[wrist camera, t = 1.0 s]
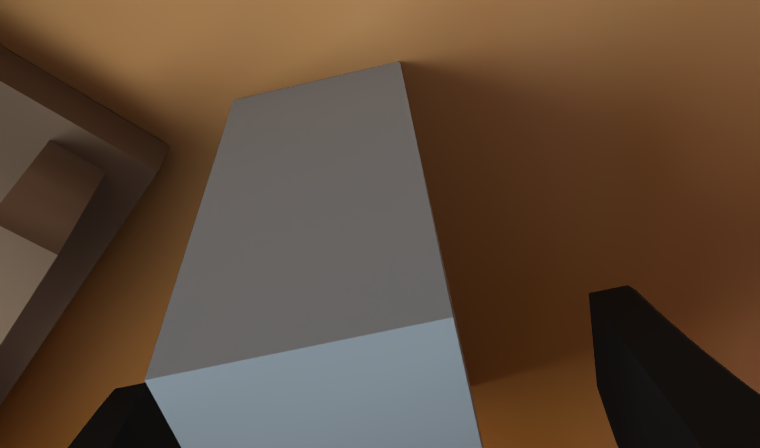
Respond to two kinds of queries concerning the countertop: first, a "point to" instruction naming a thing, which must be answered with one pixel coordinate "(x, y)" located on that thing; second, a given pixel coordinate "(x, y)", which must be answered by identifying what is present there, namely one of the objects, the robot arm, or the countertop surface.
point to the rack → (57, 199)
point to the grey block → (315, 284)
